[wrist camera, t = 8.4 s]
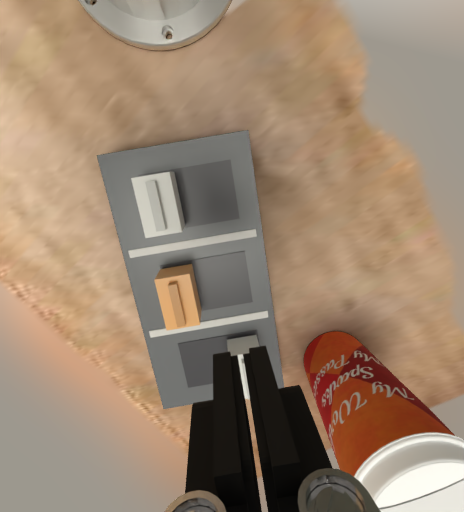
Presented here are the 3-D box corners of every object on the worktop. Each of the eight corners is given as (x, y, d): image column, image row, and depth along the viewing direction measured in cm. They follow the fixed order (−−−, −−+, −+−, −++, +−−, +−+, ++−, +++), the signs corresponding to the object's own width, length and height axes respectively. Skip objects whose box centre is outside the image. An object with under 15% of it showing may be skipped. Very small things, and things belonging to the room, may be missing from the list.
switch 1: (139, 177, 23) (128, 178, 20) (174, 171, 23) (168, 171, 20) (152, 231, 24) (143, 240, 21) (185, 225, 24) (181, 233, 21)
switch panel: (110, 157, 26) (96, 155, 22) (244, 134, 26) (248, 129, 23) (168, 387, 31) (163, 409, 28) (277, 367, 31) (284, 388, 28)
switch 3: (226, 339, 26) (228, 361, 23) (256, 334, 26) (261, 355, 23) (234, 380, 27) (236, 405, 24) (262, 375, 27) (268, 400, 24)
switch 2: (160, 269, 25) (152, 282, 22) (192, 263, 25) (188, 276, 22) (171, 315, 26) (165, 334, 23) (201, 310, 26) (199, 328, 23)
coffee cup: (345, 303, 30) (466, 426, 15) (388, 362, 32) (533, 520, 17) (274, 354, 31) (326, 514, 16) (320, 408, 33) (404, 594, 18)
